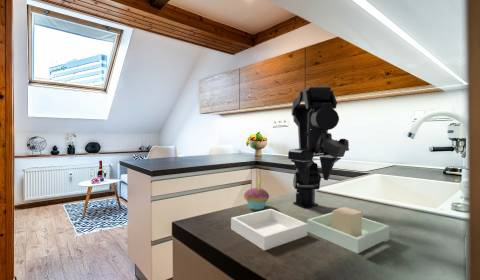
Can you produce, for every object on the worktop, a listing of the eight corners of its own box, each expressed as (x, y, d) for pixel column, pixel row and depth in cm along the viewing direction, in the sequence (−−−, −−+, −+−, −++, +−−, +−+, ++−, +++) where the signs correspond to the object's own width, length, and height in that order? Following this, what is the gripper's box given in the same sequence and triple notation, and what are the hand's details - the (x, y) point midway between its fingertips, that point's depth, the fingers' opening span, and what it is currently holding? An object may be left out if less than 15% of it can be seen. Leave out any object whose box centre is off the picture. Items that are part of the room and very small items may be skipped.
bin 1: (270, 220, 73) (270, 208, 73) (307, 237, 61) (307, 223, 61) (231, 230, 65) (231, 217, 65) (264, 252, 53) (264, 236, 53)
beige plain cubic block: (343, 228, 65) (344, 206, 65) (361, 235, 61) (362, 212, 61) (332, 233, 63) (332, 210, 62) (350, 240, 59) (350, 215, 58)
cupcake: (274, 209, 83) (274, 174, 83) (255, 215, 78) (256, 177, 77) (256, 203, 90) (256, 171, 89) (238, 208, 84) (239, 173, 84)
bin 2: (338, 222, 72) (339, 210, 72) (389, 240, 60) (389, 225, 60) (306, 233, 64) (306, 219, 64) (357, 256, 52) (357, 239, 52)
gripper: (320, 130, 59) (318, 193, 60) (361, 129, 70) (359, 183, 71) (287, 129, 69) (286, 184, 69) (328, 129, 79) (326, 176, 80)
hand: (316, 182), depth 72 cm, fingers open, 9 cm apart
